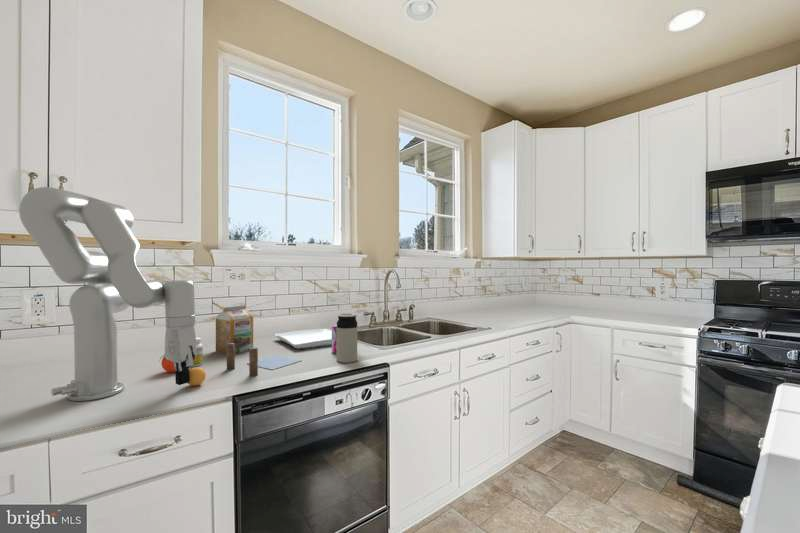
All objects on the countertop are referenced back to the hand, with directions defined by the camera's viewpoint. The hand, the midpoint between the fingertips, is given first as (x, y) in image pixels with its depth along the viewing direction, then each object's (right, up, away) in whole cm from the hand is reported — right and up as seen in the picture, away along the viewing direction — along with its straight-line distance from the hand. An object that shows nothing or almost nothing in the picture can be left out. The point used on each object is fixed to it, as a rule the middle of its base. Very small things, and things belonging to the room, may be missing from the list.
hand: (182, 383), depth 109 cm
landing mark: (+17, -2, +30) cm, 34 cm away
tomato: (-14, -2, +17) cm, 22 cm away
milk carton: (-6, -1, +47) cm, 48 cm away
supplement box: (+40, -2, +45) cm, 60 cm away
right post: (+15, -2, +14) cm, 21 cm away
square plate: (+23, -2, +65) cm, 69 cm away
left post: (+5, -2, +21) cm, 22 cm away
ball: (+2, +1, +4) cm, 4 cm away
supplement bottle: (-11, -2, +26) cm, 28 cm away
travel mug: (+44, -2, +33) cm, 55 cm away
